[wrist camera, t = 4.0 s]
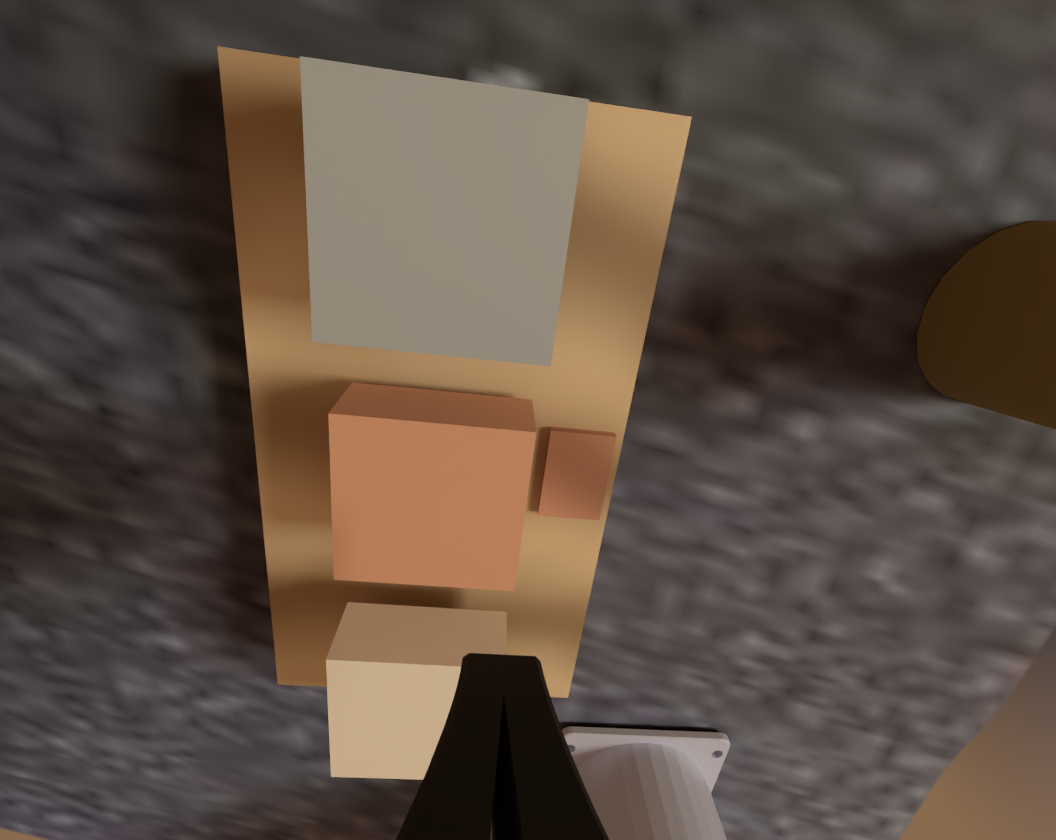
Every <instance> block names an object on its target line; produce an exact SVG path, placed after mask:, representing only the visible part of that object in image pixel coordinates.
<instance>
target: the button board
mask: <svg viewBox="0 0 1056 840" xmlns="http://www.w3.org/2000/svg"><path fill="white" fill-rule="evenodd" d="M217 48H218V58H219V69H220V79H221V90H222V101H223V111H224V122H225V132H226V143H227V153H228V164H229V174H230V185H231V195H232V206H233V216H234V227H235V238H236V248H237V259H238V269H239V280H240V290H241V301H242V311H243V322H244V332H245V343H246V353H247V364H248V374H249V385H250V396H251V406H252V417H253V427H254V438H255V448H256V459H257V469H258V480H259V490H260V501H261V511H262V522H263V533H264V543H265V554H266V564H267V575H268V585H269V596H270V606H271V617H272V627H273V638H274V648H275V659H276V670H277V680H278V684H283V685H304V686H326V687H327V672H326V658H327V656H328V653H329V650H330V648H331V645H332V642H333V640H334V637H335V634H336V632H337V629H338V626H339V624H340V621H341V618H342V616H343V613H344V610H345V608H346V605H347V602H354V603H370V604H387V605H403V606H420V607H436V608H453V609H469V610H486V611H502V612H507V655H522V656H536V657H537V658H538V659H539V660H540V661H541V665H542V670H543V674H544V677H545V681H546V685H547V688H548V691H549V694H550V697H562V698H568V695H569V691H570V686H571V681H572V677H573V672H574V667H575V663H576V658H577V653H578V648H579V644H580V639H581V634H582V630H583V625H584V620H585V616H586V611H587V606H588V602H589V597H590V592H591V588H592V583H593V578H594V573H595V569H596V564H597V559H598V555H599V550H600V545H601V541H602V536H603V531H604V527H605V522H606V517H607V512H608V508H609V503H610V498H611V494H612V489H613V484H614V480H615V475H616V470H617V466H618V461H619V456H620V452H621V447H622V442H623V437H624V433H625V428H626V423H627V419H628V414H629V409H630V405H631V400H632V395H633V391H634V386H635V381H636V377H637V372H638V367H639V362H640V358H641V353H642V348H643V344H644V339H645V334H646V330H647V325H648V320H649V316H650V311H651V306H652V302H653V297H654V292H655V287H656V283H657V278H658V273H659V269H660V264H661V259H662V255H663V250H664V245H665V241H666V236H667V231H668V226H669V222H670V217H671V212H672V208H673V203H674V198H675V194H676V189H677V184H678V180H679V175H680V170H681V166H682V161H683V156H684V151H685V147H686V142H687V137H688V133H689V128H690V123H691V119H692V117H689V116H682V115H676V114H669V113H662V112H655V111H649V110H642V109H635V108H628V107H622V106H615V105H608V104H602V103H595V102H589V104H588V110H587V117H586V124H585V131H584V138H583V145H582V152H581V159H580V166H579V173H578V180H577V187H576V194H575V201H574V208H573V215H572V222H571V229H570V236H569V243H568V249H567V256H566V263H565V270H564V277H563V284H562V291H561V298H560V305H559V312H558V319H557V326H556V333H555V340H554V347H553V354H552V361H551V366H542V365H532V364H522V363H512V362H503V361H493V360H483V359H473V358H464V357H454V356H444V355H434V354H425V353H415V352H405V351H395V350H386V349H376V348H366V347H356V346H347V345H337V344H327V343H317V342H312V325H311V302H310V279H309V256H308V232H307V209H306V186H305V163H304V140H303V117H302V94H301V71H300V59H299V58H292V57H285V56H278V55H272V54H265V53H258V52H251V51H245V50H238V49H231V48H224V47H218V46H217ZM352 382H354V383H365V384H375V385H385V386H396V387H406V388H416V389H427V390H437V391H447V392H458V393H468V394H478V395H489V396H499V397H509V398H520V399H530V400H532V404H533V411H534V418H535V425H536V439H535V447H534V454H533V461H532V468H531V475H530V482H529V489H528V497H527V504H526V511H525V518H524V525H523V532H522V539H521V547H520V554H519V561H518V568H517V575H516V582H515V589H514V591H502V590H486V589H471V588H455V587H439V586H424V585H408V584H392V583H377V582H361V581H346V580H334V572H333V541H332V511H331V480H330V449H329V419H328V413H329V412H330V411H331V409H332V408H333V407H334V405H335V404H336V403H337V402H338V400H339V399H340V398H341V396H342V395H343V394H344V393H345V391H346V390H347V389H348V387H349V386H350V385H351V384H352Z"/></svg>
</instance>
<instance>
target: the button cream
mask: <svg viewBox="0 0 1056 840" xmlns="http://www.w3.org/2000/svg"><path fill="white" fill-rule="evenodd" d="M468 653H480V654H501V655H507V612H502V611H486V610H469V609H453V608H436V607H420V606H403V605H387V604H370V603H354V602H347V605H346V608H345V610H344V613H343V616H342V618H341V621H340V624H339V626H338V629H337V632H336V634H335V637H334V640H333V642H332V645H331V648H330V650H329V653H328V656H327V658H326V672H327V695H328V718H329V741H330V765H331V777H353V778H384V779H416V780H423V779H424V777H425V774H426V772H427V770H428V767H429V764H430V762H431V759H432V757H433V754H434V752H435V749H436V746H437V744H438V741H439V739H440V736H441V734H442V731H443V728H444V726H445V723H446V720H447V717H448V714H449V711H450V708H451V705H452V702H453V698H454V695H455V692H456V688H457V684H458V680H459V675H460V671H461V665H462V658H463V657H464V656H465V655H467V654H468Z"/></svg>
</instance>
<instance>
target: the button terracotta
mask: <svg viewBox="0 0 1056 840" xmlns="http://www.w3.org/2000/svg"><path fill="white" fill-rule="evenodd" d="M328 419H329V449H330V480H331V511H332V541H333V572H334V580H346V581H361V582H377V583H392V584H408V585H424V586H439V587H455V588H471V589H486V590H502V591H514V589H515V582H516V575H517V568H518V561H519V554H520V547H521V539H522V532H523V525H524V518H525V511H526V504H527V497H528V489H529V482H530V475H531V468H532V461H533V454H534V447H535V439H536V425H535V418H534V411H533V404H532V400H530V399H520V398H509V397H499V396H489V395H478V394H468V393H458V392H447V391H437V390H427V389H416V388H406V387H396V386H385V385H375V384H365V383H354V382H352V384H351V385H350V386H349V387H348V389H347V390H346V391H345V393H344V394H343V395H342V396H341V398H340V399H339V400H338V402H337V403H336V404H335V405H334V407H333V408H332V409H331V411H330V412H329V413H328Z"/></svg>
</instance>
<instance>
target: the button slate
mask: <svg viewBox="0 0 1056 840" xmlns="http://www.w3.org/2000/svg"><path fill="white" fill-rule="evenodd" d="M300 71H301V94H302V117H303V140H304V163H305V186H306V209H307V232H308V256H309V279H310V302H311V325H312V342H317V343H327V344H337V345H347V346H356V347H366V348H376V349H386V350H395V351H405V352H415V353H425V354H434V355H444V356H454V357H464V358H473V359H483V360H493V361H503V362H512V363H522V364H532V365H542V366H551V361H552V354H553V347H554V340H555V333H556V326H557V319H558V312H559V305H560V298H561V291H562V284H563V277H564V270H565V263H566V256H567V249H568V243H569V236H570V229H571V222H572V215H573V208H574V201H575V194H576V187H577V180H578V173H579V166H580V159H581V152H582V145H583V138H584V131H585V124H586V117H587V110H588V104H589V99H584V98H577V97H570V96H563V95H557V94H550V93H543V92H537V91H530V90H523V89H516V88H510V87H503V86H496V85H490V84H483V83H476V82H469V81H463V80H456V79H449V78H443V77H436V76H429V75H422V74H416V73H409V72H402V71H395V70H389V69H382V68H375V67H369V66H362V65H355V64H348V63H342V62H335V61H328V60H322V59H315V58H308V57H301V56H300Z"/></svg>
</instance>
